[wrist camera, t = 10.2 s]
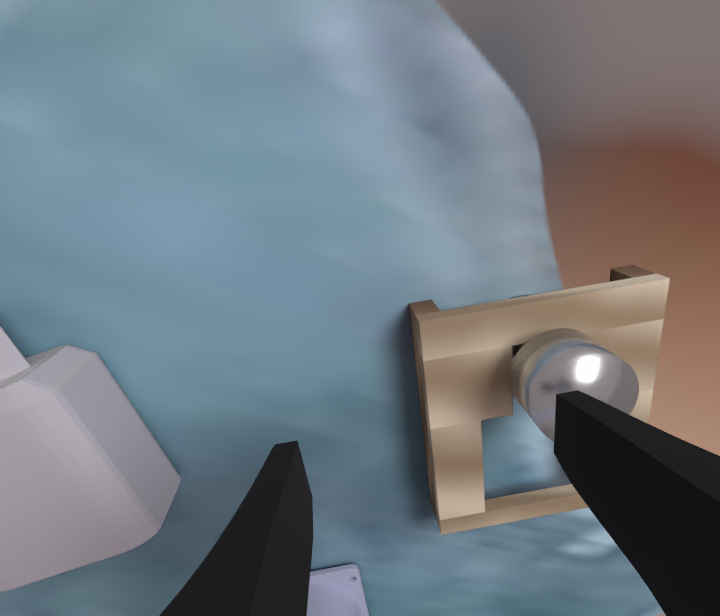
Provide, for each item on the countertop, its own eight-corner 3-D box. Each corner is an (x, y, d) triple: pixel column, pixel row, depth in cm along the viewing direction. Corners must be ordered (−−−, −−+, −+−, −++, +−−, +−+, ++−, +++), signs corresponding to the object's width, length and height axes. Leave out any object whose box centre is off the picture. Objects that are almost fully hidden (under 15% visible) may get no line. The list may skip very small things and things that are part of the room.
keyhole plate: (610, 468, 26) (637, 498, 24) (431, 502, 26) (441, 534, 24) (633, 264, 21) (669, 278, 19) (408, 303, 21) (419, 322, 18)
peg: (565, 369, 23) (642, 439, 17) (477, 387, 23) (526, 462, 17) (567, 286, 21) (654, 334, 16) (471, 304, 21) (524, 360, 15)
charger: (29, 232, 18) (186, 470, 24) (-153, 298, 18) (44, 518, 24) (-66, 257, 14) (155, 543, 19) (-303, 344, 14) (-19, 600, 20)
